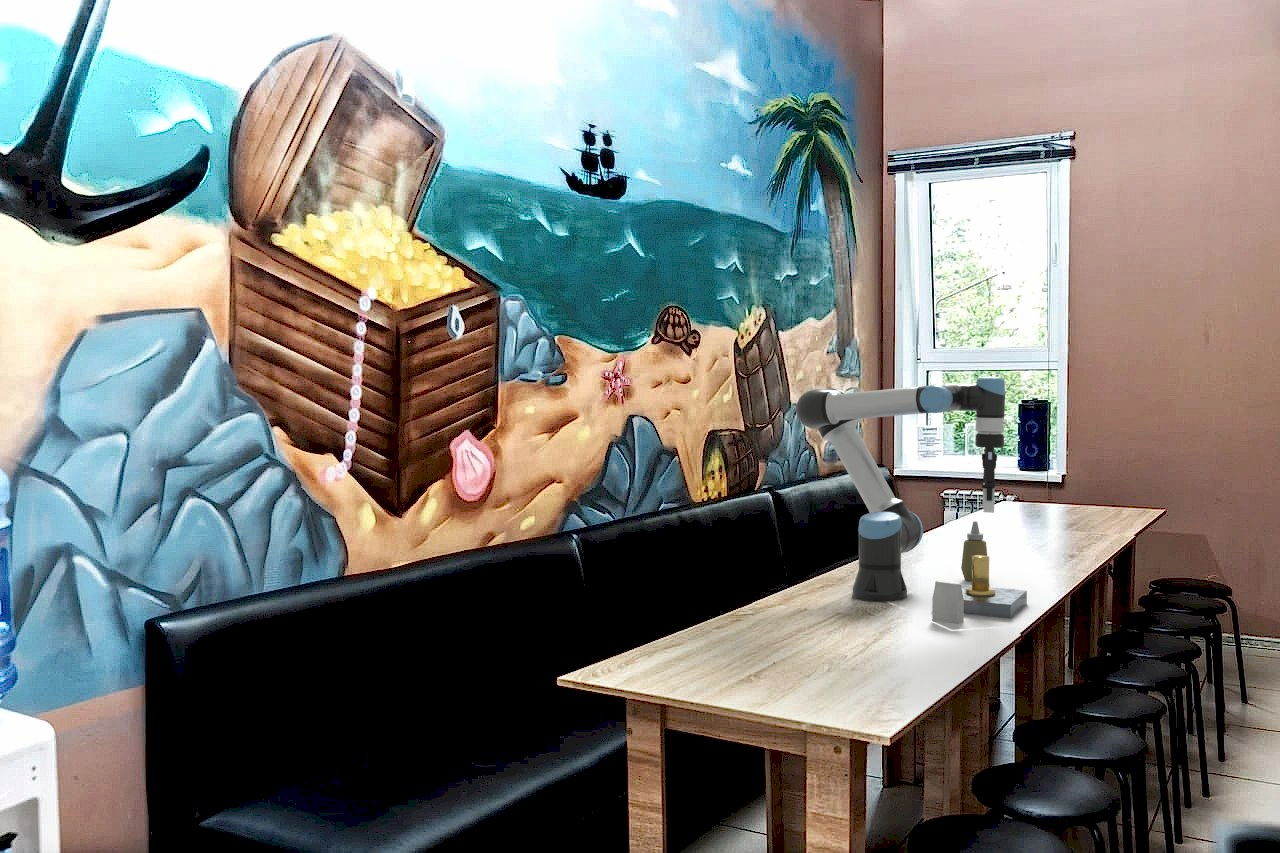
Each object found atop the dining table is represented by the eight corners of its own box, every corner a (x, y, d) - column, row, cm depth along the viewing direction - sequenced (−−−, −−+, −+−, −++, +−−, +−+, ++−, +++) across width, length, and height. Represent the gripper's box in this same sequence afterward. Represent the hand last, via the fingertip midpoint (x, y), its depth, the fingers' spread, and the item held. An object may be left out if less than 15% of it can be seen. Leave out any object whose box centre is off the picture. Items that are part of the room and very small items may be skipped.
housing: (1010, 620, 278) (1010, 604, 278) (932, 611, 288) (932, 596, 288) (1026, 605, 295) (1026, 590, 295) (952, 597, 306) (952, 583, 305)
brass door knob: (975, 610, 287) (975, 559, 287) (960, 604, 295) (960, 555, 294) (1000, 609, 289) (1001, 558, 288) (985, 603, 297) (985, 553, 296)
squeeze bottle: (958, 581, 328) (958, 522, 327) (963, 577, 335) (964, 519, 334) (986, 584, 324) (986, 524, 323) (990, 579, 331) (991, 520, 330)
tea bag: (957, 625, 274) (957, 585, 273) (932, 621, 278) (932, 582, 278) (963, 622, 277) (963, 583, 276) (938, 618, 281) (938, 580, 280)
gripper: (1005, 436, 288) (1004, 515, 289) (1002, 430, 312) (1000, 503, 313) (976, 435, 290) (974, 514, 291) (975, 429, 314) (973, 502, 315)
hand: (988, 509), depth 302 cm, fingers open, 13 cm apart
